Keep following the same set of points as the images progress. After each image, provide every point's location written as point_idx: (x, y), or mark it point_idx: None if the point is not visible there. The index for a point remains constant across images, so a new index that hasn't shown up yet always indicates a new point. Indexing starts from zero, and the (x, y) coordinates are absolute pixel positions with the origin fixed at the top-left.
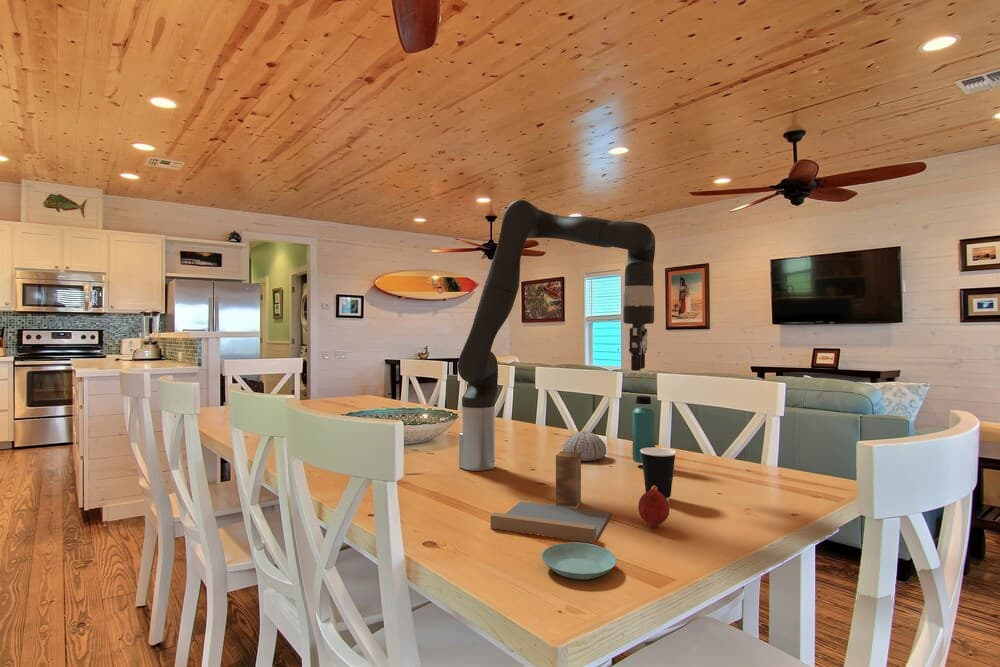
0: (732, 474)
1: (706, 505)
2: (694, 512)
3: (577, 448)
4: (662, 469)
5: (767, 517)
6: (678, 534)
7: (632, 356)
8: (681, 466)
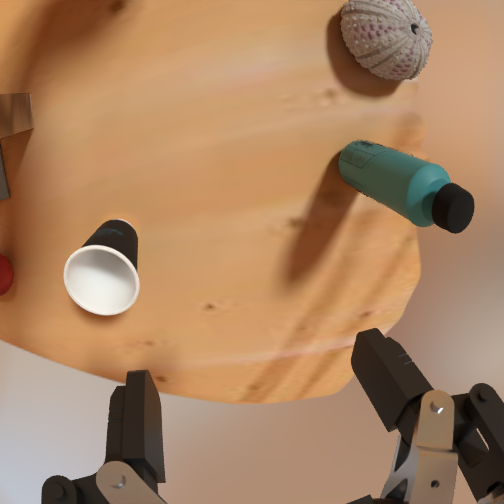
0: (337, 303)
1: None
2: None
3: (352, 16)
4: (83, 279)
5: (130, 360)
6: None
7: (126, 454)
8: (370, 225)
